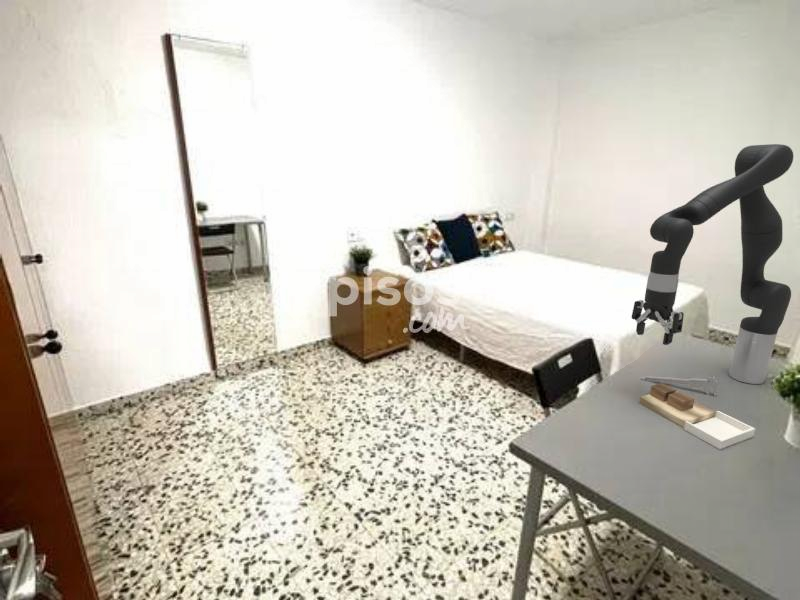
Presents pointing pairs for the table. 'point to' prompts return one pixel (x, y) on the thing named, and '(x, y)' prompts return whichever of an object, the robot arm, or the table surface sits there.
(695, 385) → the caliper
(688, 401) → the tile front
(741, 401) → the table surface
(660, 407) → the beige square panel
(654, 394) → the brown square block
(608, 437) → the table surface
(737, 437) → the tray
